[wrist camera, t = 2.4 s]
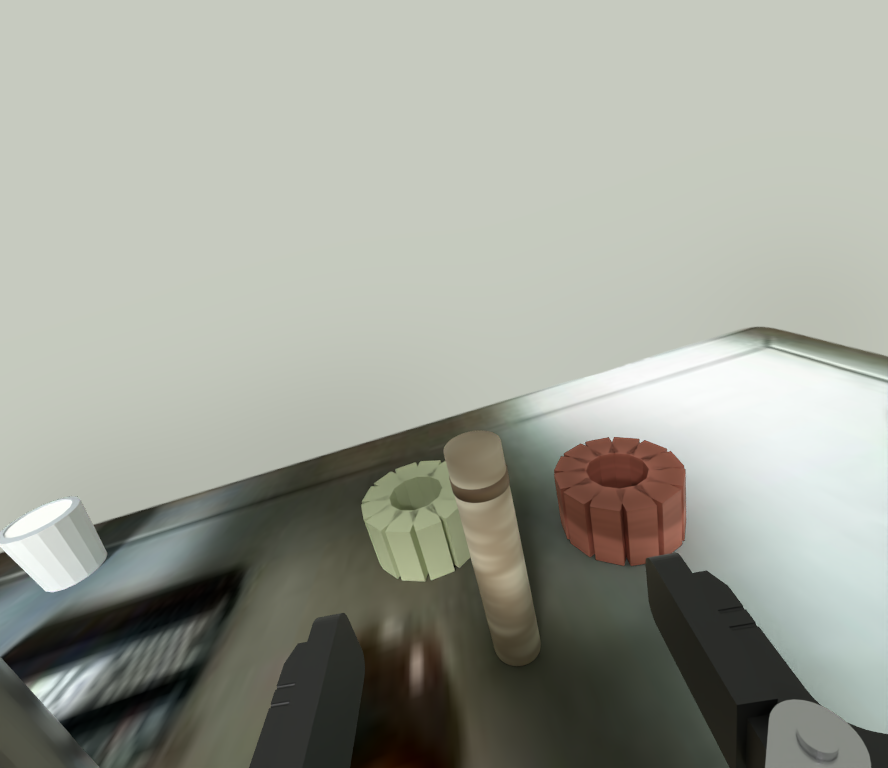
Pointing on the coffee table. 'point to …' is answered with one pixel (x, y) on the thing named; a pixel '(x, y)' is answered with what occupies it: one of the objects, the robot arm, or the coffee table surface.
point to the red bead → (622, 499)
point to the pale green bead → (416, 522)
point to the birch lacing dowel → (494, 543)
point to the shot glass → (55, 544)
